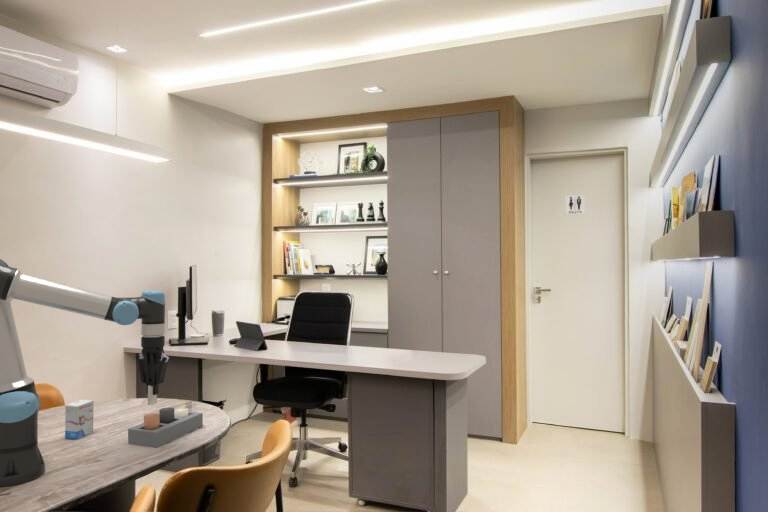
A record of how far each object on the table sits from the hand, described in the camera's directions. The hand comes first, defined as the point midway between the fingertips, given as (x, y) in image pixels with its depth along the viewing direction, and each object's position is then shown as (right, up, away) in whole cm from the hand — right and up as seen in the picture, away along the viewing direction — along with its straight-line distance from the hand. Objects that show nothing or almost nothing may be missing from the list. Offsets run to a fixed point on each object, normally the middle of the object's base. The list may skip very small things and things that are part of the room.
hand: (152, 403), depth 196 cm
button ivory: (+5, -12, +13) cm, 18 cm away
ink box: (-28, -13, +6) cm, 32 cm away
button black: (+3, -10, +6) cm, 12 cm away
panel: (+3, -13, +6) cm, 14 cm away
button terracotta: (0, -10, -1) cm, 10 cm away
